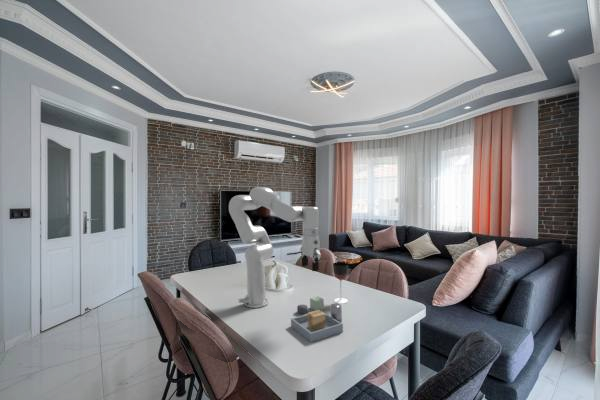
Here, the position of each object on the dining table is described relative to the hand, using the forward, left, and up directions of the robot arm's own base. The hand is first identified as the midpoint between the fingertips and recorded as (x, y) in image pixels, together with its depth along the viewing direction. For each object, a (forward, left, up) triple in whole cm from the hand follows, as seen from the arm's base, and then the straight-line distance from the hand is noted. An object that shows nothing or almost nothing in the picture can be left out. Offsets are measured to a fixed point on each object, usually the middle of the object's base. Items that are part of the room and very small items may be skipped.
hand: (309, 268), depth 130 cm
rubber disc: (-1, +5, -23) cm, 24 cm away
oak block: (-5, -13, -22) cm, 26 cm away
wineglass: (+25, +7, -23) cm, 35 cm away
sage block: (+8, +6, -23) cm, 25 cm away
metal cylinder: (+7, -11, -23) cm, 26 cm away
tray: (-5, -12, -23) cm, 27 cm away
